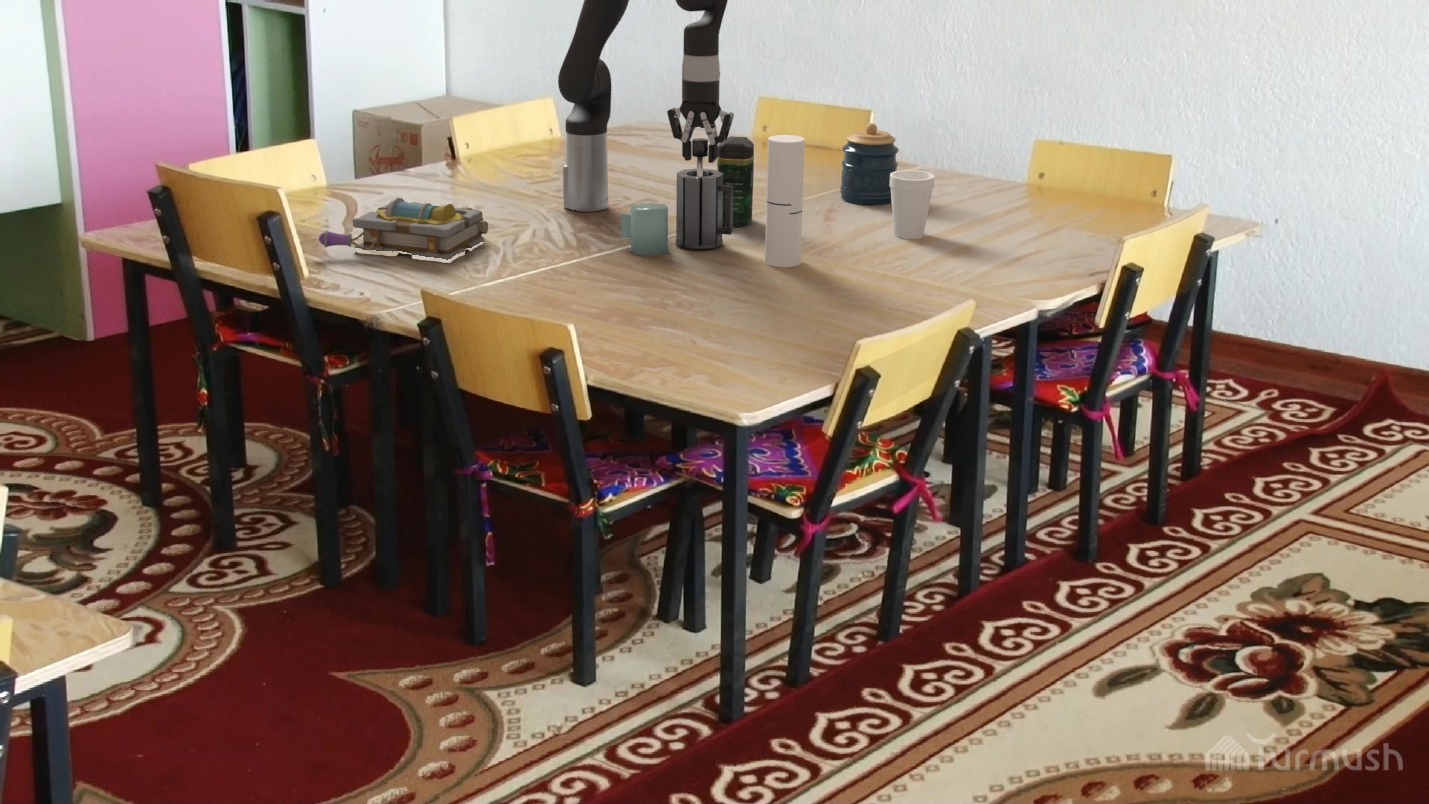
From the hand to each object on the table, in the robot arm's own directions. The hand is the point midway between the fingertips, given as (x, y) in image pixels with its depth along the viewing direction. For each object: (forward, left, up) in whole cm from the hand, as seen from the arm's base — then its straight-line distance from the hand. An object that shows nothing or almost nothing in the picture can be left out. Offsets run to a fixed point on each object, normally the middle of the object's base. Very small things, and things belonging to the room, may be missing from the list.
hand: (700, 160), depth 321 cm
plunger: (0, 0, -13) cm, 13 cm away
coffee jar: (+1, +20, -18) cm, 27 cm away
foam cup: (+39, +24, -18) cm, 49 cm away
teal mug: (-9, -8, -18) cm, 21 cm away
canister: (+23, +52, -18) cm, 60 cm away
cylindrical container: (+20, -6, -18) cm, 28 cm away
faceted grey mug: (+1, 0, -18) cm, 18 cm away
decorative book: (-54, -26, -18) cm, 63 cm away
